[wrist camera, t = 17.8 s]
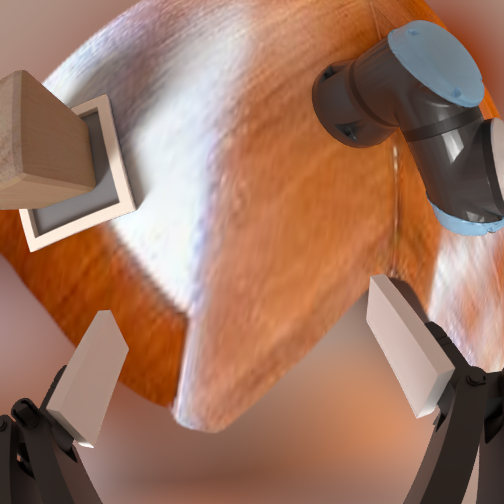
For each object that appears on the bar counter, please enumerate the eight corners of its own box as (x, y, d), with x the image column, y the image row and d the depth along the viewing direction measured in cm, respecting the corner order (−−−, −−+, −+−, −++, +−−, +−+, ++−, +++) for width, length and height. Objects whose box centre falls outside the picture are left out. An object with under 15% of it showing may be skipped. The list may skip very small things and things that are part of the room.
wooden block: (31, 145, 31) (-53, 112, 12) (89, 122, 33) (24, 62, 13) (39, 210, 33) (-52, 215, 13) (99, 190, 35) (24, 175, 15)
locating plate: (110, 100, 34) (105, 93, 31) (137, 209, 37) (133, 209, 35) (16, 145, 31) (7, 142, 28) (38, 249, 34) (30, 252, 32)
